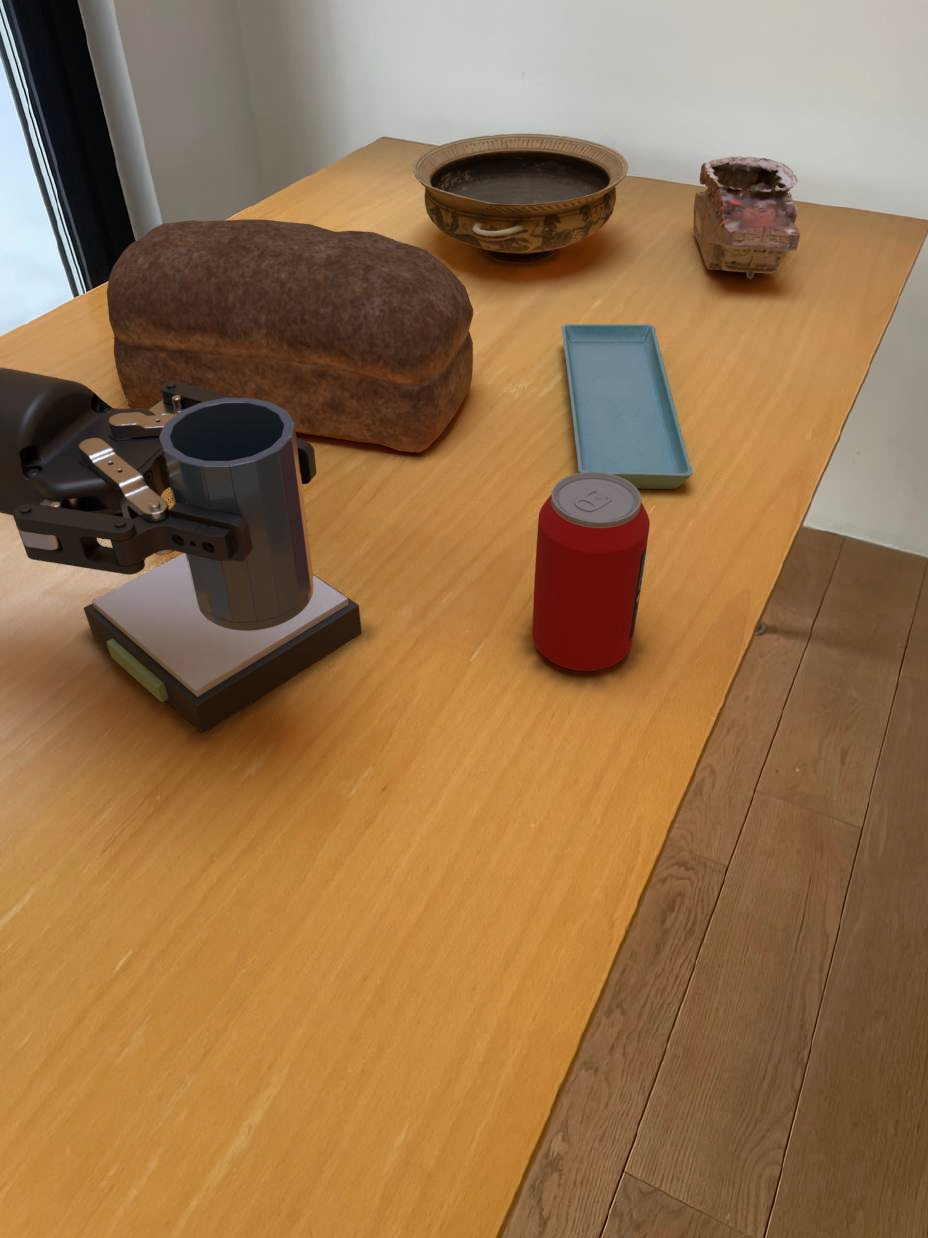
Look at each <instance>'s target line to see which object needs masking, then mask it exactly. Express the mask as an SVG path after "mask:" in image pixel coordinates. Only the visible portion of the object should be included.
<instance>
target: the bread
mask: <svg viewBox="0 0 928 1238" xmlns="http://www.w3.org/2000/svg"><path fill="white" fill-rule="evenodd" d="M110 271H111V272H110V274H109V276H108V282H107V288H106V298H107V300H106V301H107V310H108V321H109V325H110V328H111V330H112V333H113V336H114V337H113V357H114V363H115V368H116V373H117V377H118V381H119V383H120V386H121V389H122V392H123V394H124V397H125V399H126V400H127V401H128V403H129V404H130V405H131V406H132V407H133V408H144V409H147V410H149V409H150V408H152V407H153V406H155V405H156V404H157V403H159V402H160V401H162V395H161V390H160V386H161V385H162V384H164V383H166V382H170V381H177V382H181V383H184V384H188V385H192V386H196V387H200V388H203V389H207V390H211V391H215V392H218V393H222V394H226V395H230V396H234V397H237V398H253V399H258V400H262V401H267V402H271V403H273V404H275V405H277V406H279V407H280V408H282V409H284V410H286V411H287V412H288V413H289V415H290V417H291V419H292V420H293V422H294V424H295V432H296V434H297V433H298V434H304V435H309V436H318V437H324V438H330V439H337V440H343V441H350V442H357V443H365V444H374V445H381V446H385V447H387V448H391V449H393V450H396V451H398V452H406V453H407V452H408V453H409V452H410V453H421V452H423V451H426V450H428V449H429V448H430V447H431V445H432V444H433V443H434V442H435V441H436V440H437V439H438V438H439V437H440V436H441V435H442V434H443V432H444V431H445V430H446V428H447V427H448V425H449V424H450V423H451V422H452V419H454V417H455V415H456V414H457V412H458V411H459V409H460V407H461V405H462V404H463V401H465V398H466V396H467V394H468V393H469V391H470V387H471V385H472V380H473V370H474V342H473V338H472V336H471V335H472V334H471V332H470V328H471V325H472V321H473V317H474V308H473V305H472V302H471V300H470V296H469V293H468V290H467V288H466V286H465V285H464V283H463V282H462V281H461V280H460V279H459V278H458V277H457V275H456V274H455V273H454V272H453V271H452V270H451V269H450V268H449V266H447V265H446V264H445V263H444V262H442V261H441V260H440V259H439V258H437V257H436V256H435V255H434V254H433V253H431V252H430V251H429V250H427V248H423V247H420V246H416V245H412V244H409V243H406V242H402V241H399V240H396V239H393V238H391V237H388V236H385V235H382V234H381V233H377V232H374V231H363V230H342V231H334V230H330V229H327V228H324V227H321V226H319V225H318V226H317V225H314V224H311V223H303V222H302V223H301V222H292V221H291V222H290V221H283V220H282V221H281V220H274V219H273V220H272V219H251V218H249V219H247V218H246V219H245V218H244V219H227V220H224V219H223V220H183V221H182V220H181V221H173V222H165V223H161V224H159V225H157V226H155V227H153V228H152V229H150V230H149V231H148V232H147V233H145V234H144V235H142V236H141V237H140V238H138V239H136V240H134V242H131V244H129V245H128V246H127V247H126V248H125V250H124V251H122V252H121V255H120V256H119V257H118V259H117V260H116V262H115V263H114V265H113V266H112V268H111V270H110Z"/></svg>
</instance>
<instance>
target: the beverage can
mask: <svg viewBox="0 0 928 1238" xmlns="http://www.w3.org/2000/svg"><path fill="white" fill-rule="evenodd" d="M650 526H651V525H650V518H649V514H648V512H647V510H646V507H645V505H644V504H643V502H642V495H641V493H640V491H639V489H638V488H636V487H635V486H634V485H633V484H631V483H630V482H629V481H627V480H625V479H623V478H621V477H619V476H616V475H612V474H608V473H602V472H583V473H579V472H576V473H573V474H570V475H568V476H565V477H564V478H562V479H560V480H559V481H557V482H556V484H555V485H554V486H553V488H552V489H551V493H550V495H549V496H548V498H547V499H546V500H545V501H544V503H543V504H542V506H541V507H540V509H539V512H538V519H537V535H536V547H535V548H536V549H535V566H534V585H533V602H532V603H533V605H532V607H533V608H532V628H531V630H532V631H531V637H532V641H533V644H534V646H535V647H536V649H537V651H538V652H539V653H540V654H541V655H542V656H543V657H545V658H546V659H547V660H549V662H552V663H554V664H555V665H557V666H559V667H563V668H566V669H570V670H574V671H588V672H589V671H597V670H602V669H606V668H609V667H611V666H614V665H616V664H618V663H619V662H621V661H622V660H623V659H624V658H626V656H627V655H628V654H629V652H630V650H631V649H632V645H633V640H634V636H635V635H634V634H635V630H636V622H637V617H638V611H639V603H640V597H641V592H642V591H641V590H642V583H643V576H644V570H645V562H646V558H647V557H646V556H647V549H648V541H649V533H650Z"/></svg>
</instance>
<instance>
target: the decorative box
mask: <svg viewBox="0 0 928 1238" xmlns="http://www.w3.org/2000/svg"><path fill="white" fill-rule="evenodd" d="M797 183H798V178H797V175H796V174H794V171H793V170H792V169H791V168H790V167H789V166H788V165H786V164H785V163H782V162H779V161H777V160H774V159H770V158H765V157H755V156H729V157H724V158H723V157H722V158H717V159H712V160H710V161H708V162H704V163H702V165H701V168H700V173H699V184H700V185H702V186H704V185H705V187H706V188H707V189H706V190H705V191H698V192H696V193H695V196H694V202H693V220H692V221H693V222H692V223H693V224H692V226H693V227H692V232H693V234H694V236H695V238H696V242H697V244H698V246H699V249H700V252H701V256H702V258H703V259H702V260H703V262H704V264H705V266H706V269H707V270H716V271H726V272H739V273H745V274H746V277H747V279H752V278H754V275H755V274H769V275H770V274H775V272H776V271H777V269H778V268H779V267H780V265H781V263H782V262H783V260H784V259H785V258H786V256H787V255H788V253H790V252H793V251H797V250H798V247H799V242H800V238H801V231H800V229H799V227H798V226H797V225H796V224H795V223H796V219H797V216H798V215H797V214H798V210H799V209H798V207H797V205H796V204H795V203H794V202H793V197H792V195H793V194H792V193H791V192H790V191H791V189H793V188H794V186H796V184H797Z"/></svg>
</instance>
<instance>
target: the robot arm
mask: <svg viewBox="0 0 928 1238" xmlns="http://www.w3.org/2000/svg"><path fill="white" fill-rule="evenodd" d="M160 390H161V395H162V401H160V402H159V403H157V404H156V405H155V406H153V407H152V408H150V409H149V410H147V409H144V408H138V407H131V408H114V407H113V406H111V405H109V403H107V402H106V401H104V399H102V398H101V397H100V396H99V395H98V394H96V393H95V391H93V390H92V389H91V388H90V387H88V386H87V385H85V384H83V383H81V382H78V381H74V380H69V379H65V378H60V377H55V376H51V375H50V376H49V375H44V374H38V373H34V372H29V371H25V370H19V369H14V368H7V367H2V366H0V514H4V515H9V516H12V517H13V520H14V523H15V526H16V528H17V532H18V533H19V536H20V539H21V542H22V545H23V548H24V550H25V553H26V556H27V558H28V559H30V560H32V561H39V562H45V563H52V564H58V565H64V566H65V565H66V566H71V567H77V568H83V569H89V570H95V571H103V572H109V573H115V574H121V575H128V576H129V575H135V574H138V573H140V572H141V571H143V570H144V569H145V567H146V563H145V560H146V559H148V558H149V557H151V556H153V555H157V556H166V555H170V554H172V553H174V552H178V553H182V554H183V553H186V554H190V555H194V556H199V557H203V558H207V559H211V560H215V561H229V560H233V561H237V562H242V561H244V560H245V559H246V557H247V556H248V555H249V554H250V553H251V551H252V542H251V536H250V530H249V525H248V523H247V521H246V520H245V519H244V518H242V517H241V516H238V515H233V514H229V513H224V512H220V511H215V510H209V509H205V508H201V507H197V506H193V505H188V504H184V503H180V502H177V503H176V504H175V505H174V504H173V506H172V507H169V504H168V502H167V500H165V499H164V498H162V495H163V493H164V492H165V491H166V490H168V489H170V485H169V480H168V476H167V472H166V467H165V463H164V458H163V454H162V450H161V445H160V441H159V437H160V434H161V432H162V429H163V427H164V424H165V423H166V422H168V421H169V420H170V419H171V418H172V417H174V416H175V415H176V414H177V413H178V412H180V411H182V410H185V409H187V408H189V407H192V406H194V405H196V404H199V403H202V402H207V401H212V400H217V399H222V398H237V397H234V396H230V395H226V394H222V393H218V392H215V391H211V390H207V389H203V388H200V387H196V386H192V385H188V384H184V383H181V382H177V381H170V382H166V383H164V384H162V385H161V386H160ZM296 440H297V448H298V456H299V464H300V472H301V480H302V485H308V484H310V483H311V481H312V480H313V479H314V478H315V477H316V475H317V464H316V454H315V448H314V446H313V445H312V444H311V443H310V442H308V441H306V440H304V439H302V438H300V437H296ZM98 539H102V540H109V541H110V544H111V546H104V545H102V544H101V543H100V542H99V541H98Z"/></svg>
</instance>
